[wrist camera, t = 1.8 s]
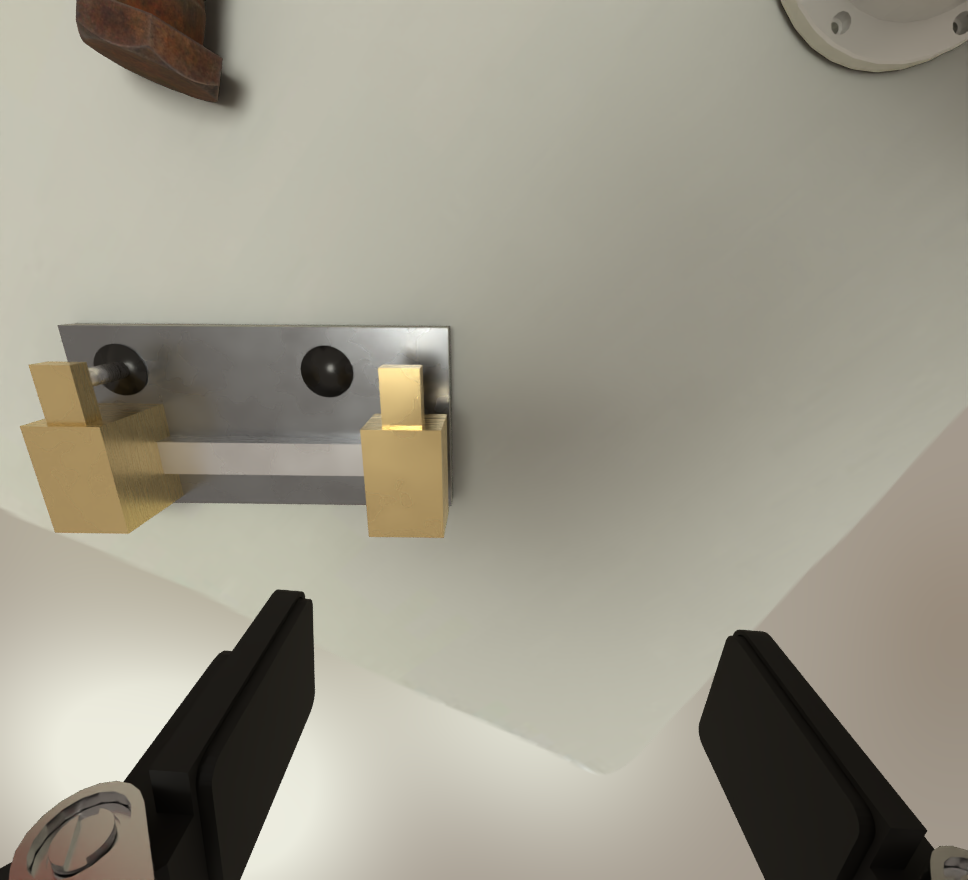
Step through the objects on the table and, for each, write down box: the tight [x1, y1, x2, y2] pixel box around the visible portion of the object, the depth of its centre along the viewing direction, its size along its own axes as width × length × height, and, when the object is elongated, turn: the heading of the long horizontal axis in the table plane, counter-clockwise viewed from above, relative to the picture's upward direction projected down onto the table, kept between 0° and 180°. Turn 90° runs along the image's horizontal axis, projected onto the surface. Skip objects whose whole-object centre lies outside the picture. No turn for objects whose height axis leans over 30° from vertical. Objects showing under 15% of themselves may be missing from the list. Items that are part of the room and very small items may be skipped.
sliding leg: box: [360, 365, 449, 538], centre depth 25 cm, size 4×9×4 cm, turn 0°
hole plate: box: [20, 323, 453, 534], centre depth 26 cm, size 22×11×6 cm, turn 90°
